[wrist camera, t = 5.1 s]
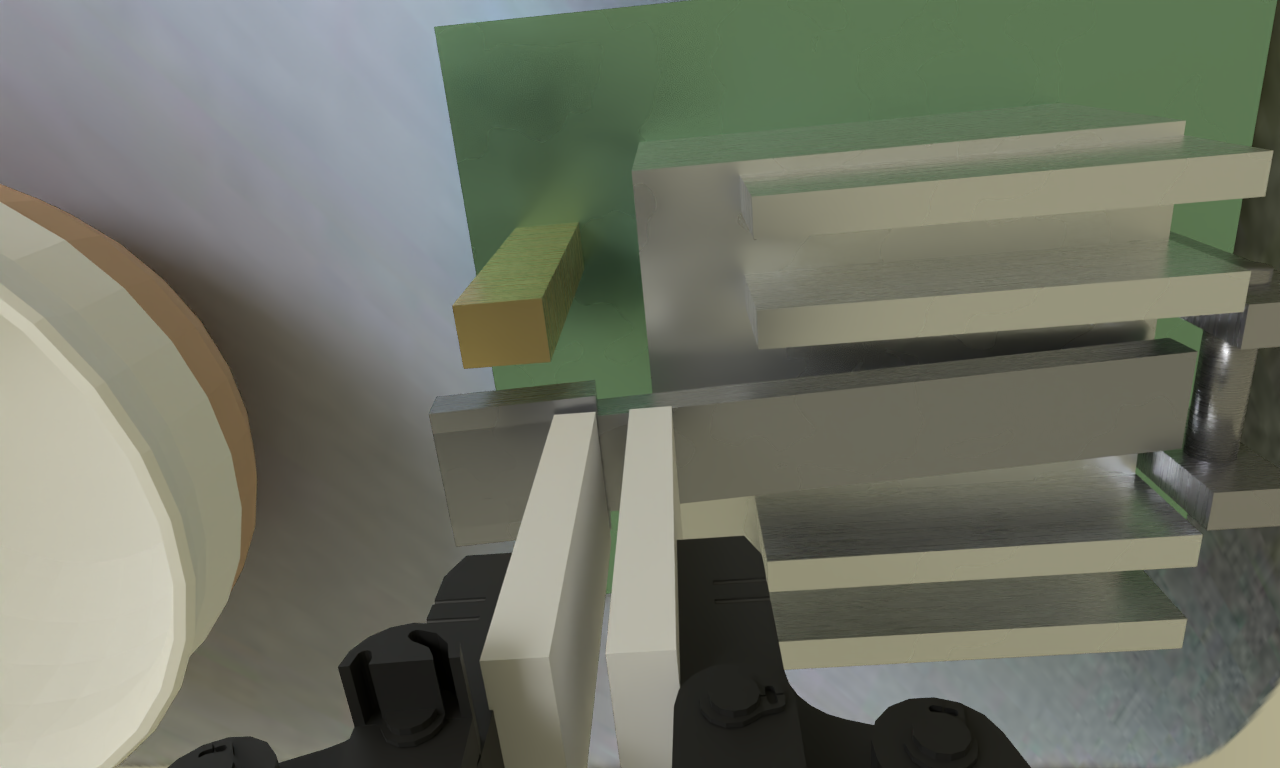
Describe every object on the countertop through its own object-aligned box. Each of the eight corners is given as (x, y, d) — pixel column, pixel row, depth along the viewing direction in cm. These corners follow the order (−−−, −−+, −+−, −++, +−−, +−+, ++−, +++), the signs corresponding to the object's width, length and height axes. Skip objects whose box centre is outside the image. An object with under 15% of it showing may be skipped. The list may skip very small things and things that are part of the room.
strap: (462, 525, 17) (455, 546, 16) (435, 396, 16) (429, 414, 15) (1152, 448, 17) (1178, 467, 16) (1172, 317, 16) (1201, 330, 15)
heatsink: (538, 569, 27) (481, 803, 18) (449, 28, 21) (307, 17, 13) (1151, 531, 26) (1382, 761, 17) (1243, -54, 20) (1663, -126, 11)
